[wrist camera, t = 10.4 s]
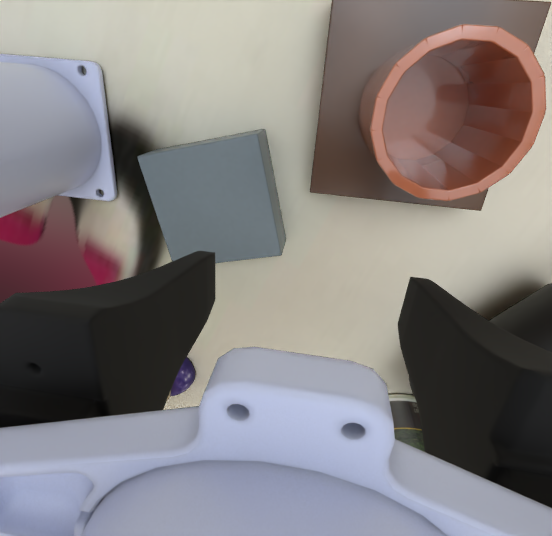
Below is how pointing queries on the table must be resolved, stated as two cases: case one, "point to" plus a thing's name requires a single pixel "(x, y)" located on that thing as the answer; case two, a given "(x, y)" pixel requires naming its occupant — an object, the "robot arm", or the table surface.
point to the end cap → (529, 319)
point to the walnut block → (362, 64)
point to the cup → (454, 111)
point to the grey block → (217, 197)
